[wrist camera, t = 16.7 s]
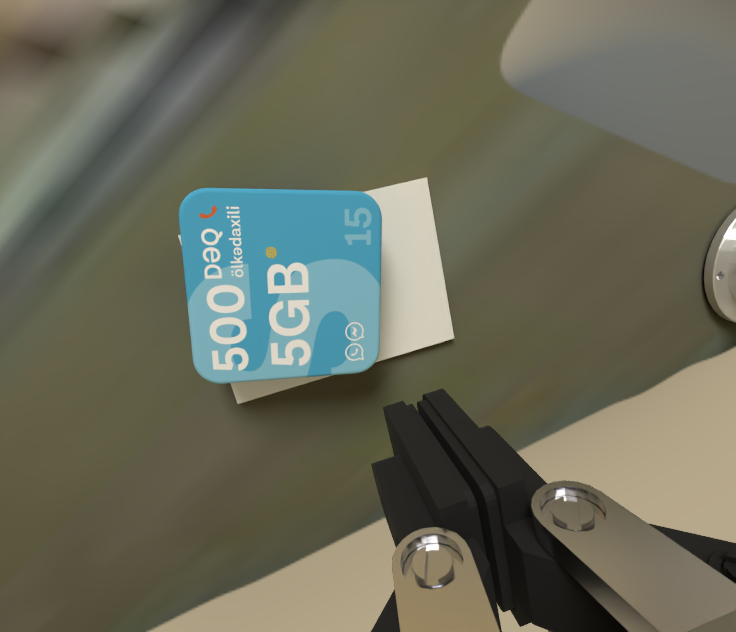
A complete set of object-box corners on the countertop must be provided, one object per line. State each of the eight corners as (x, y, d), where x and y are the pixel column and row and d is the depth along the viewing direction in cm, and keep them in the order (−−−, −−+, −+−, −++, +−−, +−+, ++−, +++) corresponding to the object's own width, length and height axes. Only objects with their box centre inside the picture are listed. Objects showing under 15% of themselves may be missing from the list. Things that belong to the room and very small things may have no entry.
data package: (380, 372, 28) (194, 387, 26) (365, 351, 33) (205, 362, 30) (383, 191, 25) (174, 186, 23) (367, 194, 30) (189, 190, 27)
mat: (423, 178, 31) (426, 177, 30) (451, 336, 35) (454, 338, 34) (179, 234, 28) (178, 235, 28) (238, 400, 32) (237, 404, 31)
